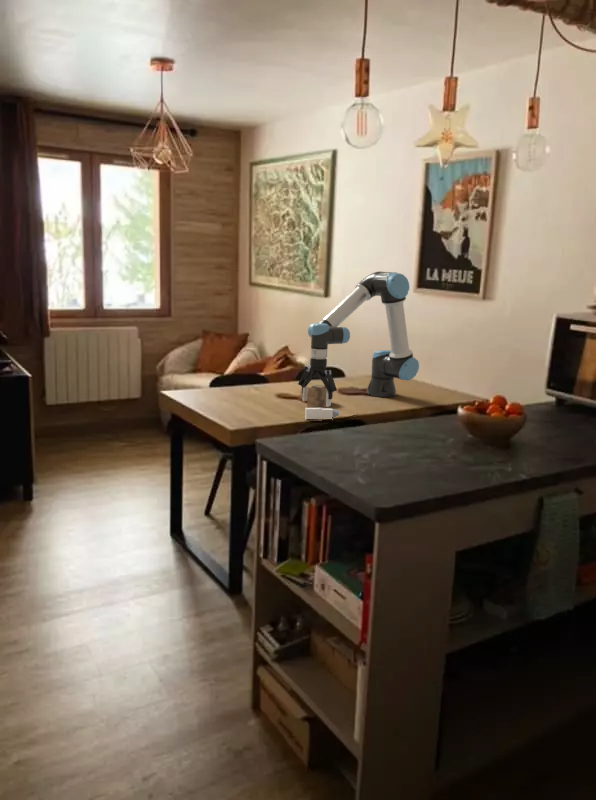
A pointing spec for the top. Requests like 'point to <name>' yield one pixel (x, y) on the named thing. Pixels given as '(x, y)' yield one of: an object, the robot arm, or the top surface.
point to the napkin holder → (318, 413)
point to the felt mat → (335, 412)
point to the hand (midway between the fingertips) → (316, 403)
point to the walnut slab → (316, 397)
